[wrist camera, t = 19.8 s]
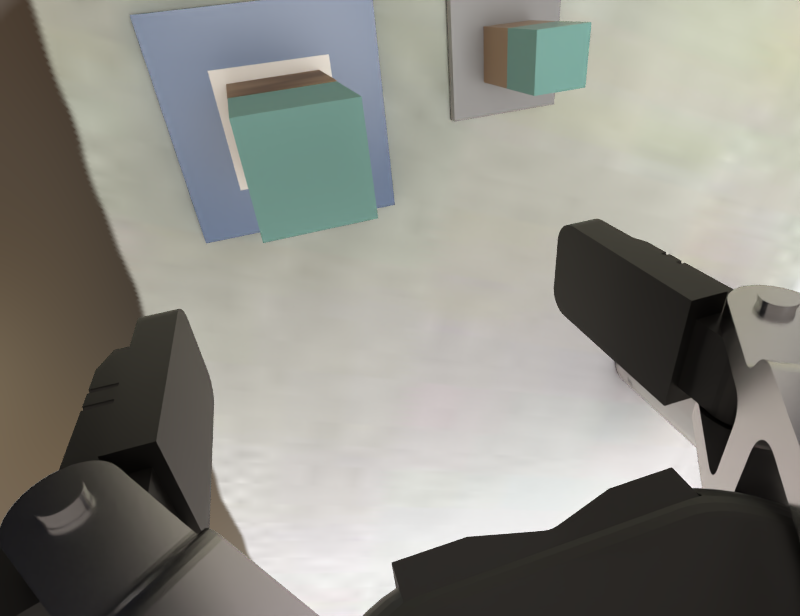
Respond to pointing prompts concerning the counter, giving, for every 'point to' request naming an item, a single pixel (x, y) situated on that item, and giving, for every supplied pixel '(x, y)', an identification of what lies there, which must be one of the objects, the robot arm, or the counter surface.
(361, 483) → the counter surface
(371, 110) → the board
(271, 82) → the walnut cube
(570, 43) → the stacked block model
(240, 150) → the teal cube
